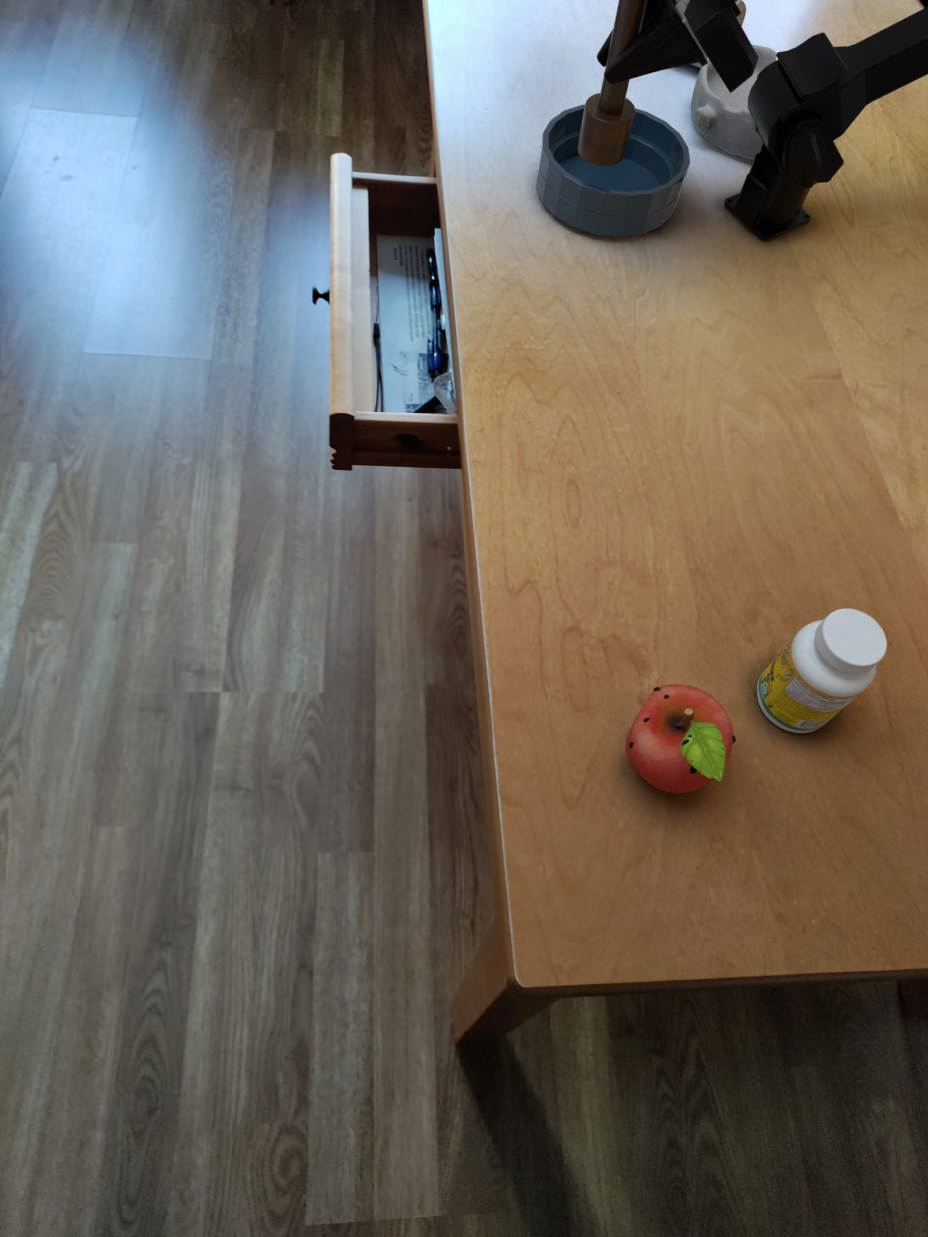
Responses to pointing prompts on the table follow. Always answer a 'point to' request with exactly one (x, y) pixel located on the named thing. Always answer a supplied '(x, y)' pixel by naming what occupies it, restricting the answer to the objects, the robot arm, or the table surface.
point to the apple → (680, 739)
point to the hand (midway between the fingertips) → (602, 70)
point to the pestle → (612, 97)
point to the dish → (728, 109)
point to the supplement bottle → (821, 670)
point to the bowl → (612, 177)
